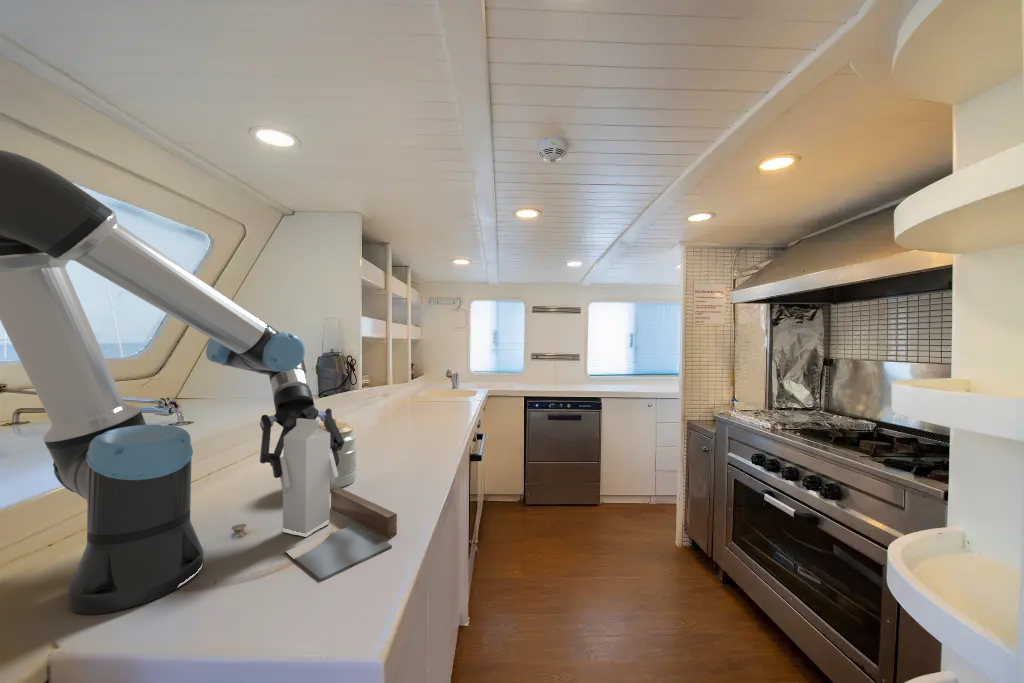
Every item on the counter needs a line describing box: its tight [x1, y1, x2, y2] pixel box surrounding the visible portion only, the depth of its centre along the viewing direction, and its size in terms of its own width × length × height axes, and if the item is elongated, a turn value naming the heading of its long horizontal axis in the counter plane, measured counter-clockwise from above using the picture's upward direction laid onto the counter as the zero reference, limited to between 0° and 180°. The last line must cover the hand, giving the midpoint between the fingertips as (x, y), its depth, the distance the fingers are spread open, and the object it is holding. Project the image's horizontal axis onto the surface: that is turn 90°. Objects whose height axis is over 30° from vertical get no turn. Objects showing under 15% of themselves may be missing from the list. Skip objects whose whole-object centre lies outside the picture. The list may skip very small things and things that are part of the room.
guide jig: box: [294, 487, 398, 582], centre depth 75 cm, size 16×26×4 cm, turn 52°
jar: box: [319, 415, 358, 490], centre depth 104 cm, size 13×13×18 cm
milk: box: [282, 418, 331, 534], centre depth 78 cm, size 6×6×22 cm
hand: (311, 485), depth 76 cm, fingers closed on milk, 8 cm apart
